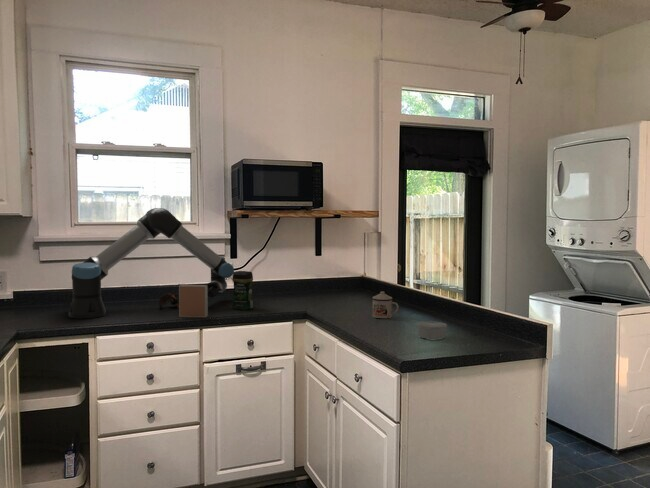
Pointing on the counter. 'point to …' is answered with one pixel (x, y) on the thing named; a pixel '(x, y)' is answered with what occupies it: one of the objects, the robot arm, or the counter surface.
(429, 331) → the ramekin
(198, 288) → the picture frame
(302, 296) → the counter surface
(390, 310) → the teacup with lid
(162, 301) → the dark brown irregular piece
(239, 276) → the coffee jar
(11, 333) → the counter surface
